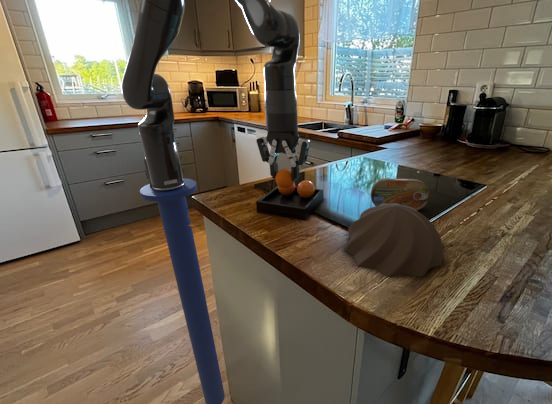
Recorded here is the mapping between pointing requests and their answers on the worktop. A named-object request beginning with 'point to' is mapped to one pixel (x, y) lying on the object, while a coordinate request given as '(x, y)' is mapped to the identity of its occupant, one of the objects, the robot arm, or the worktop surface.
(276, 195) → the tray
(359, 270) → the worktop surface
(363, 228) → the decorative dome
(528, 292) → the worktop surface
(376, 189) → the tin
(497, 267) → the worktop surface
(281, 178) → the clementine
